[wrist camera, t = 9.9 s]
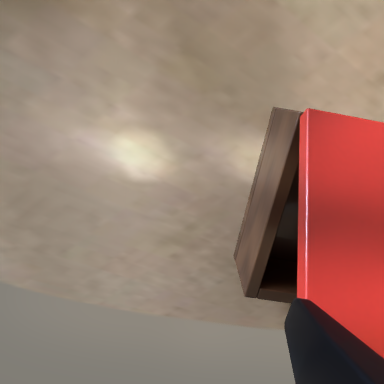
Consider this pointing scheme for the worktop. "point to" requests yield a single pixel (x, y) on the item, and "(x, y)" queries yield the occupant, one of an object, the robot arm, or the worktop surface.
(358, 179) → the lid
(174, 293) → the worktop surface
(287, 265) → the valve box
